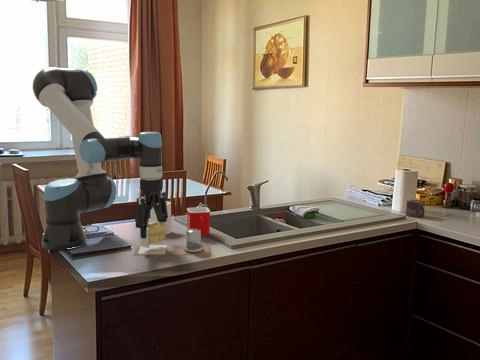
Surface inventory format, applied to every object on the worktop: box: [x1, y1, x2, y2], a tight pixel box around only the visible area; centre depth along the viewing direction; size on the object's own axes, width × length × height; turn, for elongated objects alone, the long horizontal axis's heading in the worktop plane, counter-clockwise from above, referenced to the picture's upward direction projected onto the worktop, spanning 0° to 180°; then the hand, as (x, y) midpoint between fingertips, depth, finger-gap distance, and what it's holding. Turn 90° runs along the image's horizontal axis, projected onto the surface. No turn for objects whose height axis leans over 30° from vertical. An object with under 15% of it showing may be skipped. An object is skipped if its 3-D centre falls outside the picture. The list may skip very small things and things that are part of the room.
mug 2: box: [186, 206, 211, 237], centre depth 182 cm, size 12×8×11 cm
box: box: [405, 198, 426, 219], centre depth 221 cm, size 6×6×7 cm
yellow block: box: [139, 221, 166, 244], centre depth 163 cm, size 8×8×6 cm
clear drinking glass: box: [183, 229, 204, 253], centre depth 164 cm, size 7×7×7 cm
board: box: [132, 244, 212, 257], centre depth 165 cm, size 26×11×1 cm, turn 95°
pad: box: [138, 244, 168, 255], centre depth 164 cm, size 9×9×1 cm
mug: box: [150, 200, 173, 235], centre depth 188 cm, size 12×8×12 cm
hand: (152, 243), depth 163 cm, fingers closed on yellow block, 8 cm apart
